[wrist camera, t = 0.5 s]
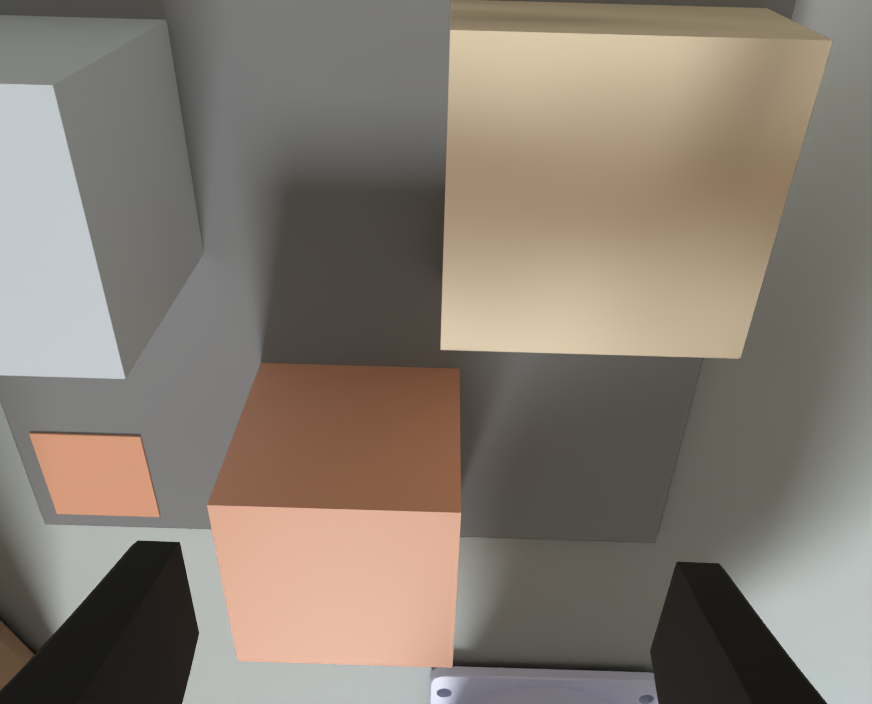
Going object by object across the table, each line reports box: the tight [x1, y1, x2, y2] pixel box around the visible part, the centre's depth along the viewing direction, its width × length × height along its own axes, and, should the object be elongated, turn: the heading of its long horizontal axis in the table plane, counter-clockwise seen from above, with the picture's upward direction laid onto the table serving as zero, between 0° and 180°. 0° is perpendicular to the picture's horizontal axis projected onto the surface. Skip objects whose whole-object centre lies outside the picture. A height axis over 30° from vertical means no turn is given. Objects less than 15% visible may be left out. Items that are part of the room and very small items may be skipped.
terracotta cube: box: [207, 363, 461, 668], centre depth 18 cm, size 5×5×5 cm
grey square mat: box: [0, 0, 795, 543], centre depth 18 cm, size 16×18×1 cm
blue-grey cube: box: [0, 15, 204, 379], centre depth 14 cm, size 5×5×5 cm
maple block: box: [440, 0, 833, 359], centre depth 15 cm, size 6×6×3 cm
